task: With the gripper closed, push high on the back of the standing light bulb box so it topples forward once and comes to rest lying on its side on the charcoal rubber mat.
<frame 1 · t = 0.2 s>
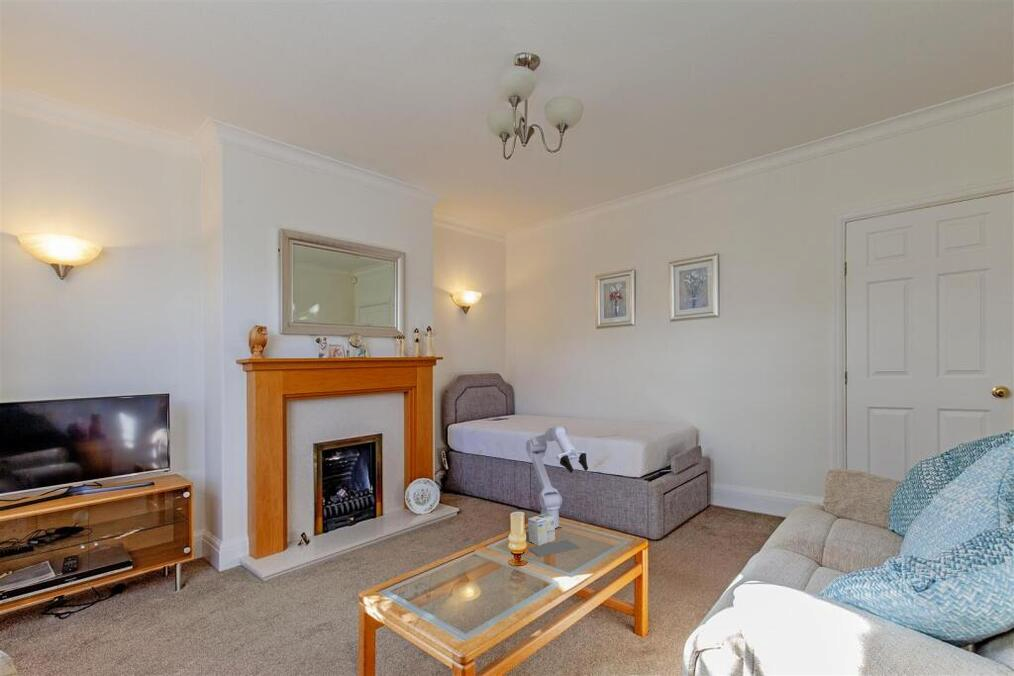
hand: (579, 470, 212), 32 cm above the table, tool tilted 50°, fingers open, 7 cm apart
light bulb box: (542, 542, 215), on the table
mat: (553, 548, 206), on the table
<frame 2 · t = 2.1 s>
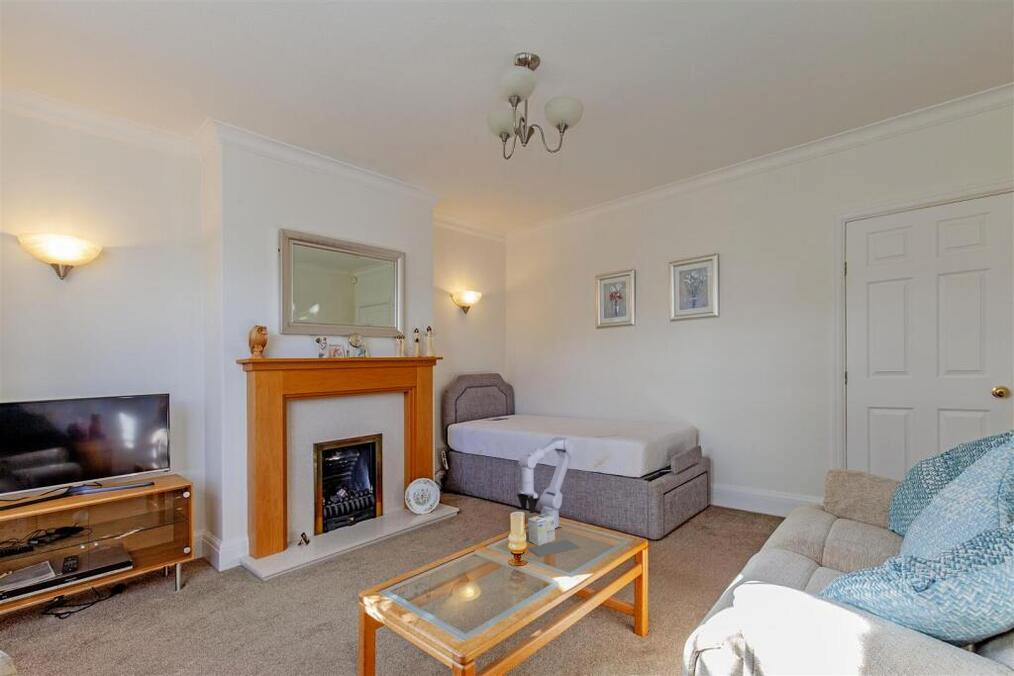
hand: (527, 511, 226), 11 cm above the table, tool pointing down, fingers open, 7 cm apart
nothing on the table moved.
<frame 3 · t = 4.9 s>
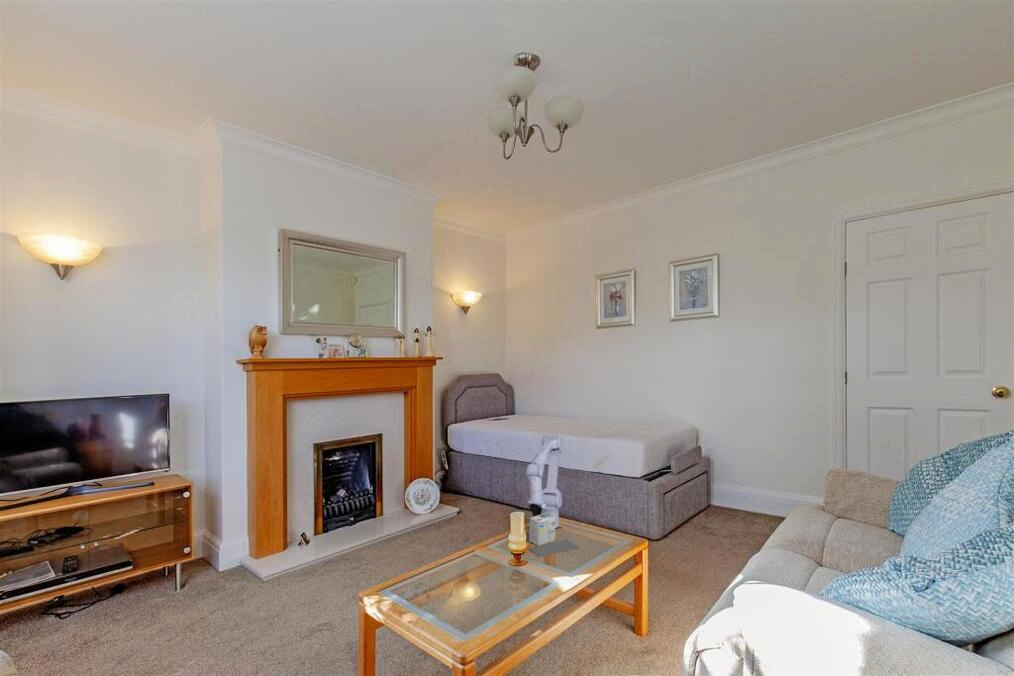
hand: (536, 520, 219), 8 cm above the table, tool pointing down, fingers closed
light bulb box: (542, 541, 215), on the table, touching gripper
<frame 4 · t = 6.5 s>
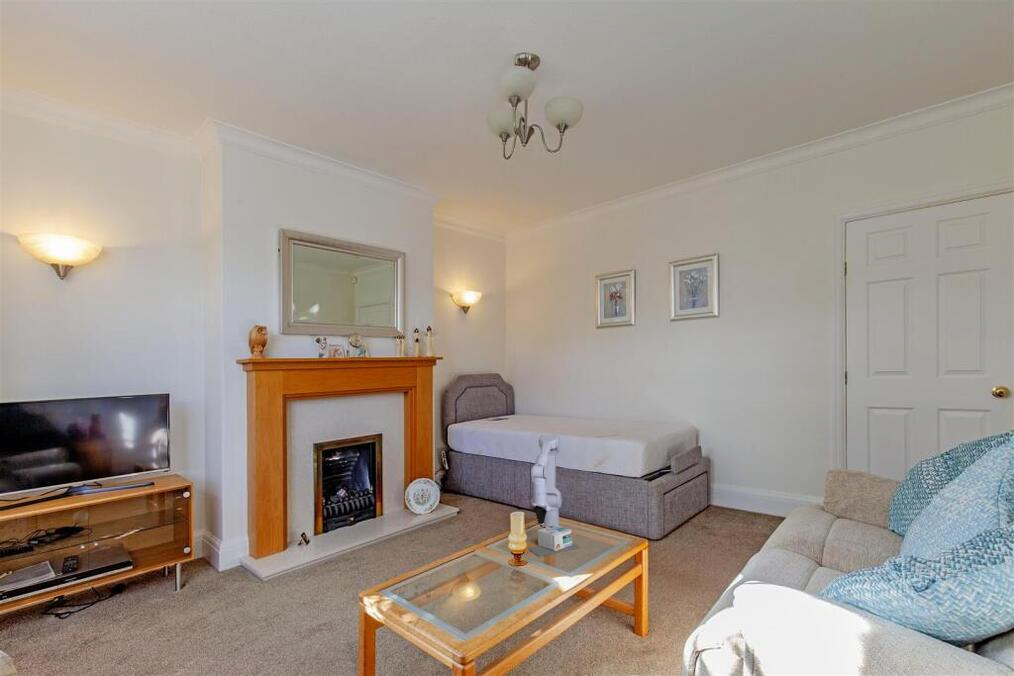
hand: (541, 523, 216), 8 cm above the table, tool pointing down, fingers closed
light bulb box: (546, 534, 213), point 4 cm above the table, touching mat
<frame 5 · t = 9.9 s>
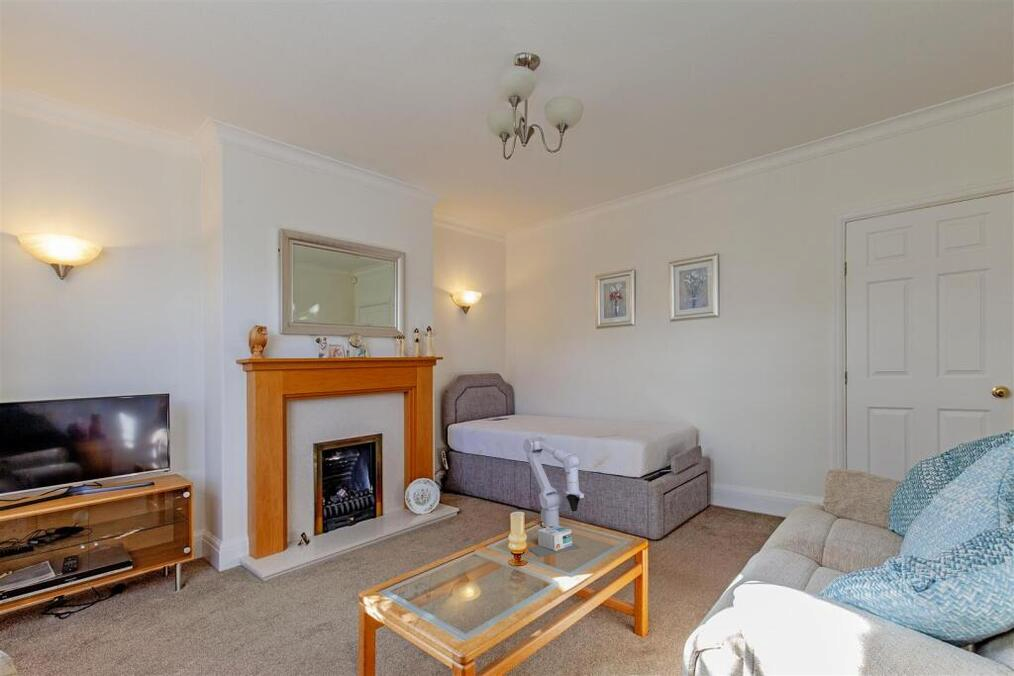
hand: (574, 511, 224), 10 cm above the table, tool pointing down, fingers closed
nothing on the table moved.
at the end: light bulb box tilted 89°; light bulb box inside the target area (4.9 cm from its centre), point 3.5 cm above the table; light bulb box touching mat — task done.
